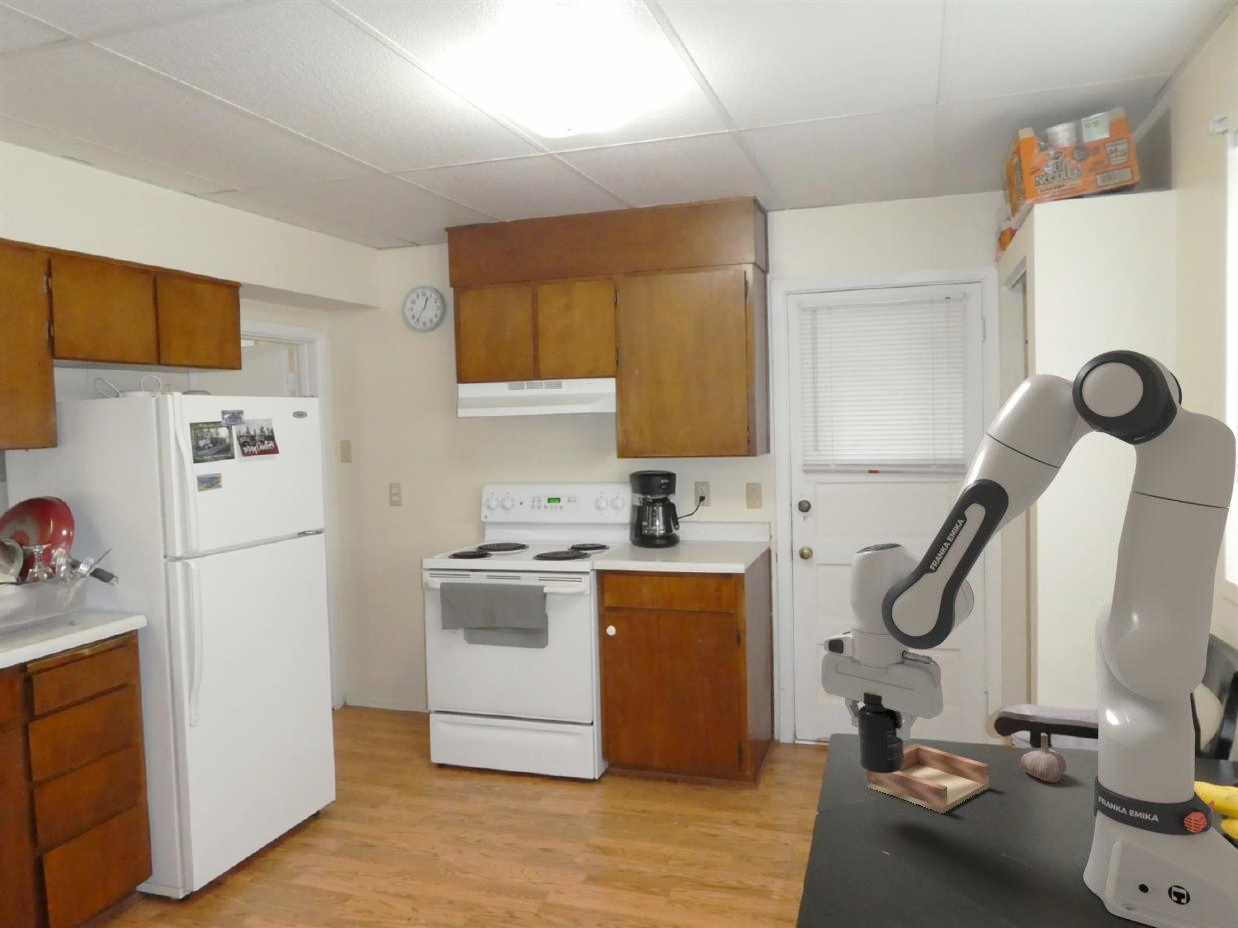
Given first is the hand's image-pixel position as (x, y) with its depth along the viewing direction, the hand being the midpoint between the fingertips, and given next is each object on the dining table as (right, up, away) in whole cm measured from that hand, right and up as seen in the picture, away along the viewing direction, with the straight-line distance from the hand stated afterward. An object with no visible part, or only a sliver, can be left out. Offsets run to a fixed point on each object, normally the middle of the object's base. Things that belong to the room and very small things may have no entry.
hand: (880, 732), depth 142 cm
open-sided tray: (+12, -13, +12) cm, 21 cm away
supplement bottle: (0, -6, 0) cm, 6 cm away
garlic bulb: (+33, -13, +16) cm, 39 cm away
